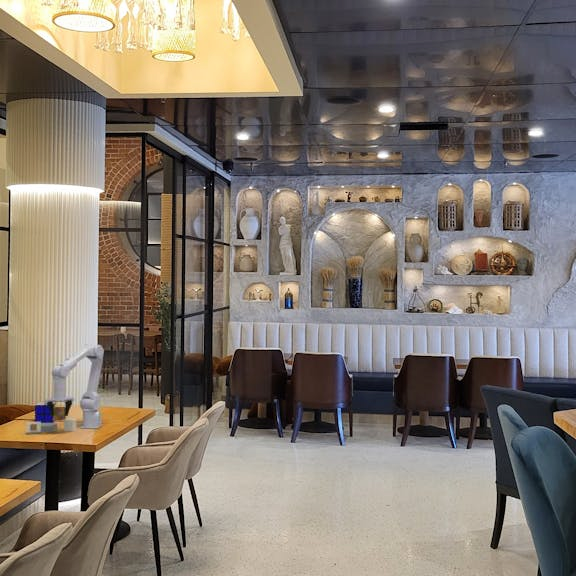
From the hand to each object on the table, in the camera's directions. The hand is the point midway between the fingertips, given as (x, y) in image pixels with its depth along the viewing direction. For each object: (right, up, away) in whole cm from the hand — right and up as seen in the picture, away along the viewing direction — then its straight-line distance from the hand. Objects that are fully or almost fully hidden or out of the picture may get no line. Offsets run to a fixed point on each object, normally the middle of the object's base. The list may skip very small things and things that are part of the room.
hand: (59, 416), depth 377 cm
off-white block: (+3, -9, +10) cm, 14 cm away
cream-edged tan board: (-13, -9, 0) cm, 16 cm away
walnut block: (0, -2, 0) cm, 2 cm away
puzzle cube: (-19, -9, +35) cm, 41 cm away
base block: (-10, -9, +9) cm, 16 cm away
